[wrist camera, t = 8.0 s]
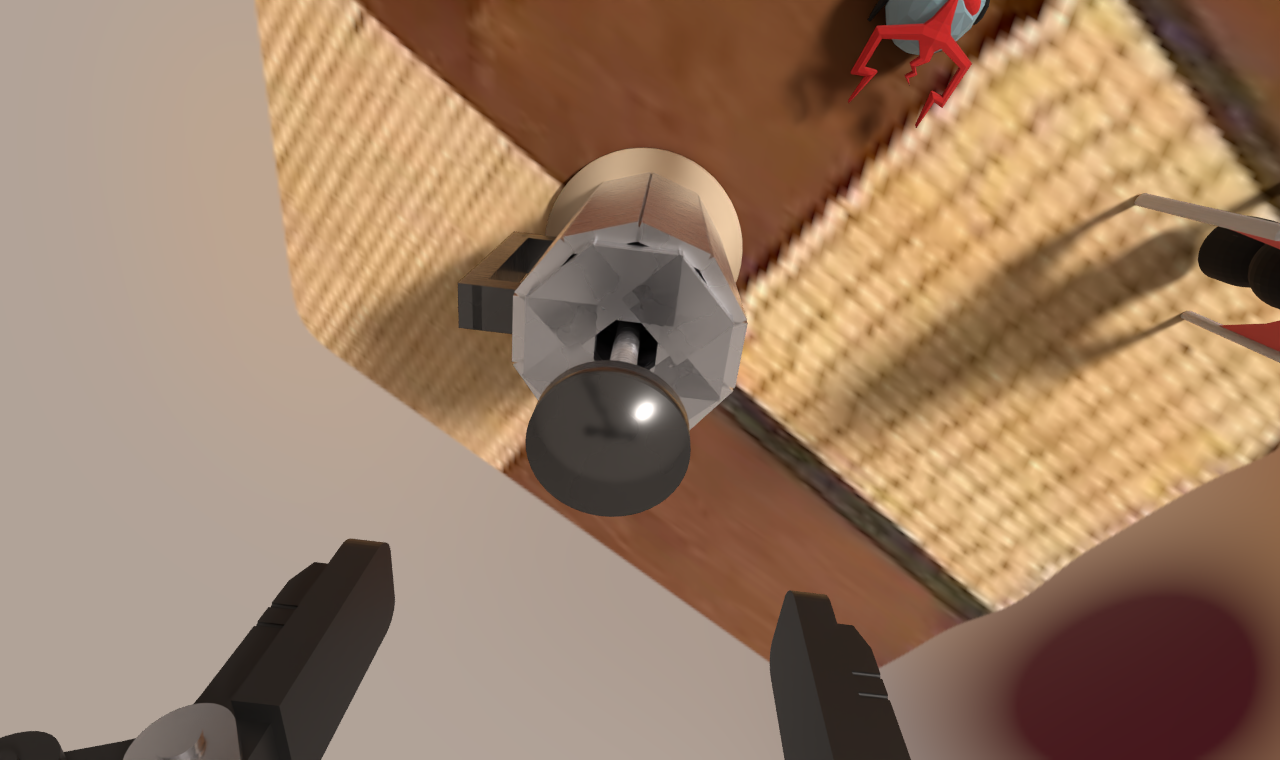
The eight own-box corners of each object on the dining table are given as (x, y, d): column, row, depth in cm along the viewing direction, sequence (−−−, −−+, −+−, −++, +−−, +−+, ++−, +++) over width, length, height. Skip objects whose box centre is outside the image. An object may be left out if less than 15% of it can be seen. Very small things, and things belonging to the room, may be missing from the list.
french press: (521, 313, 39) (440, 434, 26) (525, 157, 35) (431, 201, 21) (705, 335, 39) (722, 467, 26) (730, 181, 35) (767, 241, 21)
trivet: (542, 330, 40) (540, 333, 40) (550, 135, 35) (548, 136, 35) (723, 351, 40) (724, 355, 40) (758, 160, 35) (759, 161, 35)
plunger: (577, 319, 35) (493, 527, 18) (585, 205, 32) (493, 329, 16) (689, 332, 35) (703, 552, 18) (706, 219, 32) (742, 358, 16)
